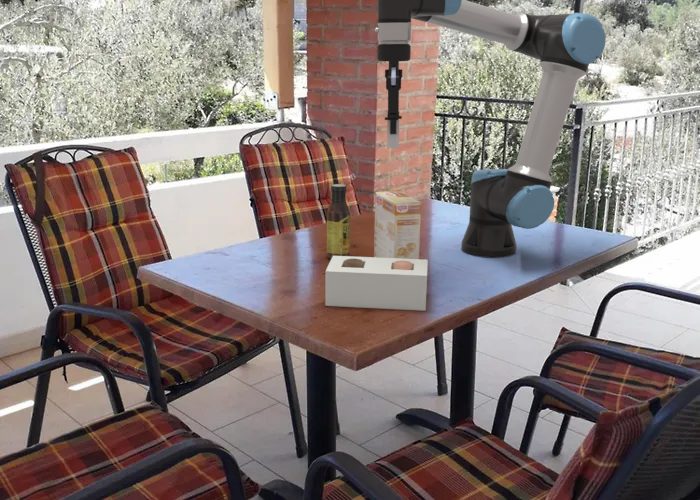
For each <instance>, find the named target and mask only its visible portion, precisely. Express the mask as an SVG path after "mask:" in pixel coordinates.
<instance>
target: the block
mask: <svg viewBox="0 0 700 500" xmlns="http://www.w3.org/2000/svg"><path fill="white" fill-rule="evenodd" d="M347 259H360V260H362V261H363V266H362V268H351V267H345V260H347ZM396 261H409V262H411V263H412V270H397V269H394V262H396ZM428 261H429V259H425V258H424V259H420V258H419V259H401V258H377V257H374V256H372V257H371V256H354V255H353V256H350V255H349V256H333V257H332V259H330V261H329V263H328V265H327V267H326V270H325V276H324V277H325V283H324V284H325V290H324V291H325V298H324V299H325V300H324V301H325V302H324V303H325V306H326V307H342V308H343V307H344V308H360V309H361V308H363V309H366V308H367V309H383V310H384V309H385V310H402V311H403V310H404V311H405V310H406V311H424V312H425V311H427V288H428V287H427V284H428Z"/></svg>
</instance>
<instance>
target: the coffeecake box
mask: <svg viewBox="0 0 700 500" xmlns="http://www.w3.org/2000/svg"><path fill="white" fill-rule="evenodd" d="M374 195H375V197H374V198H375V203H374V204H375V205H374V206H375V207H374V242H373V243H374V247H373V251H374V252H373V254H374V255H373V257H377V258H401V259H420V243H421V242H420V241H421V221H422V220H421V219H422V218H421V217H422V216H421V215H422V213H421V212H422V202H421V201H419V200H418V199H415V198H414V197H411V196H410V195H408V194H406V193H405V192H403V191H401V190H390V191H389V190H388V191H375V194H374Z"/></svg>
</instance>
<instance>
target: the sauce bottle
mask: <svg viewBox="0 0 700 500" xmlns="http://www.w3.org/2000/svg"><path fill="white" fill-rule="evenodd" d="M347 189H348V188H347V185H346V184H343V183H336V184H335V183H334V184H331V186H330V190H331V202H330V204H329V206H328V208H327V211H326V215H327V216H326V218H327V219H326V254H327V255H326V257H327V258H328V259H329V260H331V259H332V257H333V256H350V253H351V249H350V248H351V213H350V209H349V207H348V204H347V198H346V197H347V195H346V194H347Z"/></svg>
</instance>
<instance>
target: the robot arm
mask: <svg viewBox="0 0 700 500" xmlns="http://www.w3.org/2000/svg"><path fill="white" fill-rule="evenodd" d="M376 1H377V3H376V4H377V26H378V27H375V28H374V33H377V41H378V42H379V43H380V44H378V45H377V47H376V48H377V49H376V51H377V56H376V57H377V61H378V62H388V69H385V70H384V78H385V89H386V90H387V115H386V116H384V121H386V122H387V124H386V125H387V129H386V130H387V132H386V133H387V135H386V138H387V140H386V141H387V143H386V144H387V146H386V148H387V149H399V148H400V120H402V119H403V115H400V111H399V109H400V107H399V106H400V105H399V104H400V97H399V96H400V91H401V88H402V78H403V69H402V68H401V69H400V63H399V62H408V61H410V60H411V58H412V57H411V50H412V49H411V48H412V47H411V46H412V45H410V44H409V42H411V41H412V19H413V20H415V21H421V22H425V23H429V24H432V25H435V26H438V27H439V26H440V27H442V28H446V29H449V30H454V31H456V32H457V31H458V32H460V33H463V34H468V35H470V36H474V37H478V38H482V39H485V40H489V41H492V42H495V43H499V44H502V45H505V48H506V49H507V50H509V51H513V52H516V53H519V54H522V55H525V56H528V57H530V58H534V59H536V60H539V61H540V62H539V65H540V67H541V69H542V71H543V72H542V76H541V80H540V82H539V86H538V88H537V91H536V95H535V98H534V103H533V105H532V107H531V112H530V114H529V118H528V121H527V124H526V128H525V131H524V135H523V138H522V142H521V145H520V148H519V151H518V155H517V158H516V161H515V164H513V165H512V166H510V167H508V168H487V169H479V170H478V169H477V170H475V171H474V172H473V173H472V176H471V180H470V199H469V200H470V201H469V202H470V203H469V206H470V207H469V221H468V225H467V227H466V230H465V232H464V234H463V238H462V240H461V251H462V252H463V253H466V254H467V255H471V256H475V257H482V258H490V259H491V258H496V259H497V258H506V257H510V256H513V255H515V254H516V253H517V241H516V238H515V234H514V229H513V226H514V227H517V228H522V229H527V230H531V229H535V228H538V227H539V226H541V225H543V224H544V223H545V222H546V221H548V219H549V218H550V217H551V215H552V213H553V211H554V208H555V198H554V194H553V192H552V191H551V186H552V183H553V179H552V178H551V176H550V173H549V172H550V169H551V166H552V163H553V159H554V156H555V154H556V150H557V148H558V144H559V140H560V137H561V135H562V131H563V127H564V124H565V122H566V117H567V116H568V115H567V114H568V111H569V108H570V105H571V102H572V99H573V95H574V93H575V90H576V89H575V88H576V86H577V82H578V80H579V79H581V78H582V77H584V76H586V75H587V71H588V69H589V66H590V64H592V63H593V62H595V61H597V60H598V59H600V57H601V55H602V54H603V52H604V50H605V46H606V41H607V40H606V39H607V38H606V32H605V29H604V28H603V24H602V22H601V21H600V20H599V19H598V18H597V17H596V16H594V15H593V14H589V13H581V12H573V13H563V14H561V13H560V14H547V15H546V14H543V15H541V14H536V15H535V14H528V13H525V12H516V13H515V14H513V13H510V12H506V11H503V10H499V9H496V8H492V7H490V6H486V5H482V4H479V3H476V2H473V1H469V0H376Z"/></svg>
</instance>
